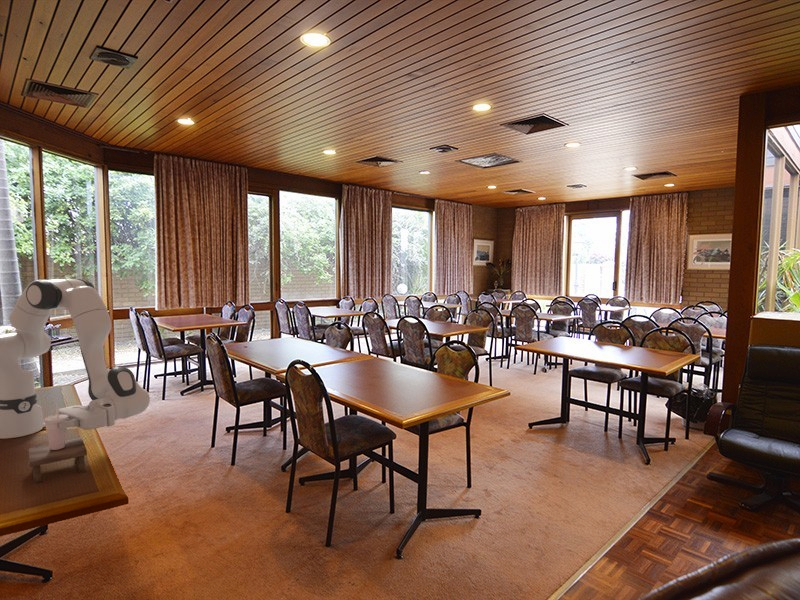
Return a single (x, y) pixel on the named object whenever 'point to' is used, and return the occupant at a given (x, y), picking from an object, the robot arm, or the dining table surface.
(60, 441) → the smoothie
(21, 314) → the robot arm
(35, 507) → the dining table surface
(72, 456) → the stool
